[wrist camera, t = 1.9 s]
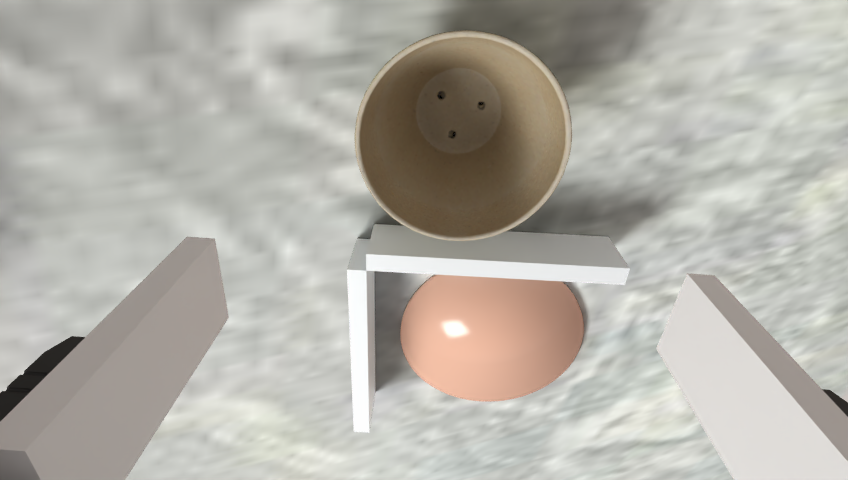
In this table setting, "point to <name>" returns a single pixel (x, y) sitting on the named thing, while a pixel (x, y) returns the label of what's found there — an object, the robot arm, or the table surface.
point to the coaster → (491, 335)
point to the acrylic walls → (460, 258)
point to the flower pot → (463, 135)
